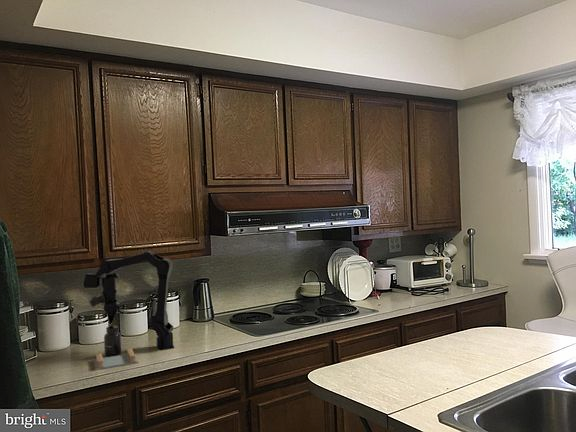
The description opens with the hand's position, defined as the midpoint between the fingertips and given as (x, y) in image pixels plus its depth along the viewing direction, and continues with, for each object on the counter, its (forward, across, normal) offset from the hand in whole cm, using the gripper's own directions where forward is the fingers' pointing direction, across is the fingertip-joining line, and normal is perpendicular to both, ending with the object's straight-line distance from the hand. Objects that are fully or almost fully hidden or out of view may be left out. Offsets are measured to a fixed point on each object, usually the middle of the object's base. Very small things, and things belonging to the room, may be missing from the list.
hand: (110, 322), depth 210 cm
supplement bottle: (+12, +9, 0) cm, 15 cm away
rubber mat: (+12, +20, 0) cm, 23 cm away
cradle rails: (+12, +20, 0) cm, 23 cm away
